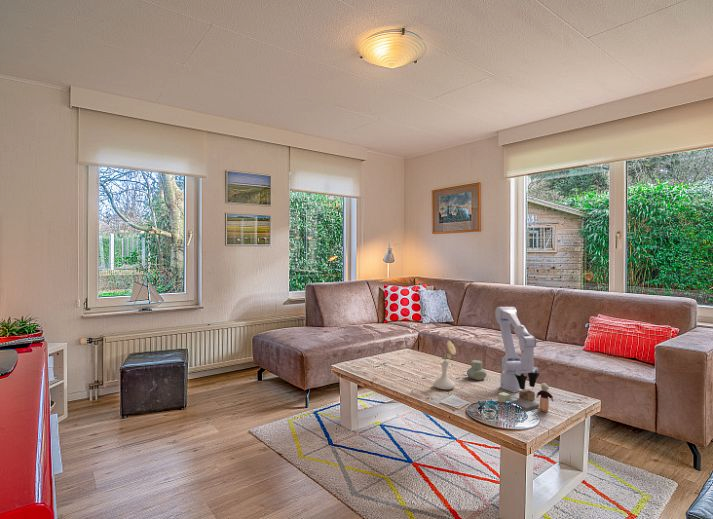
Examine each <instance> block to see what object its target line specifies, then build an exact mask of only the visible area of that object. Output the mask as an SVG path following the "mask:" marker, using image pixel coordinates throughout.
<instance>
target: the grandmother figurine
mask: <svg viewBox="0 0 713 519" xmlns="http://www.w3.org/2000/svg"><path fill="white" fill-rule="evenodd" d="M540 388H541V390H539V391H538V392H537V394H536V395H535V398H536V399H538V398H539V408H537V411H539V412H542V411H543V412H544V413H549V407H550V406H549V399H550V401H551V402H554V401H555V400H554V396H553V395H552V394H551V393H550V392H549V391H548V390H549V389H550V387H549V385H548V384H547V383H546V382H543V383H541V384H540Z"/></svg>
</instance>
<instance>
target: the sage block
mask: <svg viewBox="0 0 713 519" xmlns="http://www.w3.org/2000/svg"><path fill="white" fill-rule="evenodd" d="M498 401H499V402H498ZM506 401H510V402H511V394H510V393H507V392H504V391H503V392H499V393H498V394H497V402H498V403H501V402H506Z"/></svg>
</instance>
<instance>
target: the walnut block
mask: <svg viewBox="0 0 713 519" xmlns="http://www.w3.org/2000/svg"><path fill="white" fill-rule="evenodd" d="M518 392H519V394H518V397H519V398H518V400H519V399H525V400H528V401H531V402H533V401H535V398H536V395H535V393H536V392H535V391H532V390H530V389H527V388H526V389H524V390H520V391H518Z"/></svg>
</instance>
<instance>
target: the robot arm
mask: <svg viewBox="0 0 713 519" xmlns="http://www.w3.org/2000/svg"><path fill="white" fill-rule="evenodd" d="M494 314H495V319H496V323H497V324H499V329H500V332H501V333H500V334H501V336H502V337H501V338H502V343H503V347H504V353H505V355H504V356H503V357H502V358H501V369H502V372H501V373H500V382H499V383H500V385H499V388H500V389H503V390H506V391H508V392H511V393H518V392H519V391H520V390H524V389H525V388H526V383H527V382H526V381H527V378H528V383H529V384H528V385H529V387H531V388H535V386H536V382H537V380H538V377H539V376H540V373H539V367H536V366H534V363H535V362H534V360H535V359H534V358H535V357H534V355H535V354H534V352H535V351H534V350H535V349H534V348H536V346H537V338H536V337H535V336H534V335H532V334H530V333H529V332H528V330H527V328H526V326H525V325H524V324H522V323H521V322H520V320H519V318H518V311H517V309H516V307H515V306H497V307H496V308H495V313H494ZM510 325H512V326H513V328H514V329H513V332H514V334H515V335H516V337H517V339H518V346H519V351H520V355H518V354H517V352H516V349H515V344H514V340H513V334H512V329H511V327H510ZM526 374H527V375H528V376H525V375H526Z"/></svg>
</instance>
